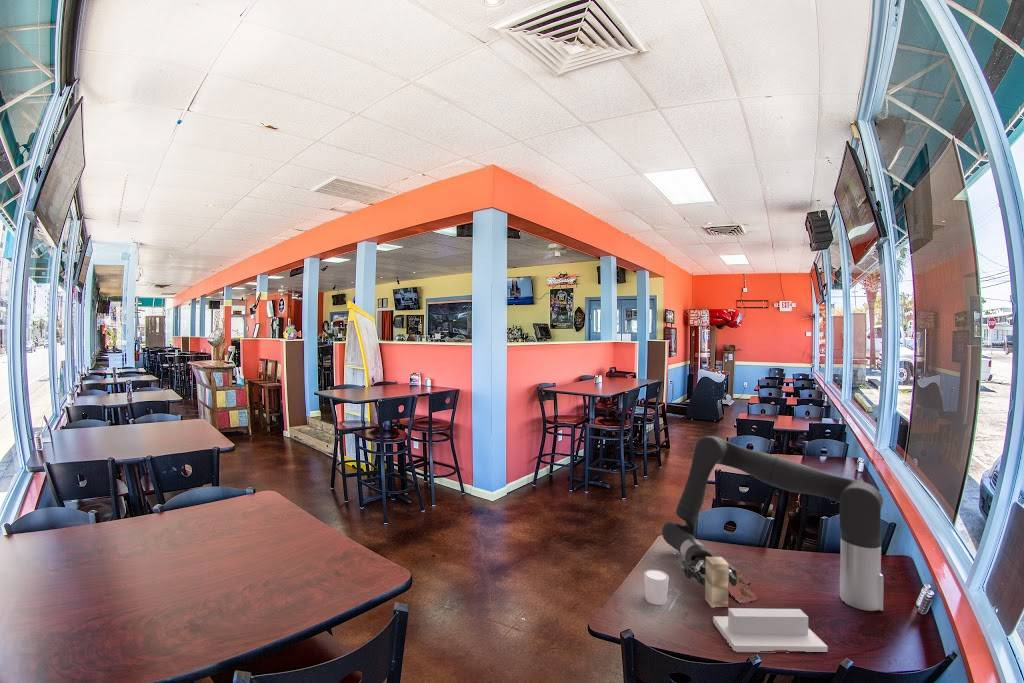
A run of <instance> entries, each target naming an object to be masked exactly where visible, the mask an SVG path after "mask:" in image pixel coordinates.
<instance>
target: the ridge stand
mask: <svg viewBox="0 0 1024 683" xmlns="http://www.w3.org/2000/svg"><path fill="white" fill-rule="evenodd" d="M727 609H728V612H727V613H728V615H727V616H725V615H724V616H716V615H715V616H713V617H712V623H713V625H715V627H716V628H717V630H718V631H719V632H720V634H721V635H722V637H723V638H724V640H725V639H726V640H727V641H726V640H725V641H726V642H727V644H728V643H729V644H728V645H729V647H730V646H731V647H732V648H731V647H730V648H731V650H732V651H733V650H734V651H736V652H735V653H761V652H760V651H774V650H788V651H805V652H829V651H828V647H829V646H828V645H827V644H826V643H825V642H824V641H823V640H822V639H821V638H820V637H818V636H817V634H816V633H815V632H813V631H812V630H811V628H809V616H808V615H807V614H806V613H805V612H804V611H803V610H802V609H801V608H740V607H739V608H738V607H736V608H735V607H733V608H729V607H728V608H727ZM734 651H733V652H734Z"/></svg>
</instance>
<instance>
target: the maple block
mask: <svg viewBox="0 0 1024 683" xmlns="http://www.w3.org/2000/svg"><path fill="white" fill-rule="evenodd" d="M726 561H727V560H725V558H724V557H722V556H713V557H706V575H704V578H705V586H704V587H705V589H704V592H705V593H704V600H705V601H706V602H707V603H708V605H709V606H710V608H712V609H713V608H714V609H716V608H715V607H728V608H729V594H728V583H729V564H728V563H727V562H728V561H727V562H726Z"/></svg>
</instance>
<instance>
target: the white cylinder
mask: <svg viewBox="0 0 1024 683" xmlns="http://www.w3.org/2000/svg"><path fill="white" fill-rule="evenodd" d="M643 579H644V592H645V594H644V595H645V600H646V601H647V602H648V603H649V604H652V605H656V606H657V605H658V606H661V605H665V604H666V603H667V598H668V592H669V590H668V589H669V580H670V576H669V575H668V574H667V573H666V572H664V571H662V570H659V569H647V570H645V571H644V572H643Z"/></svg>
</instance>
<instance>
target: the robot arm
mask: <svg viewBox="0 0 1024 683" xmlns="http://www.w3.org/2000/svg"><path fill="white" fill-rule="evenodd" d="M692 456H693V457H692V461H691V465H690V470H689V474H688V476H687V480H686V483H685V486H684V488H683V492H682V494H681V496H680V498H679V501H678V504H677V506H676V509H675V514H676V516H678V518H679V519H682V520H683V521H684V522H685V525H683V524H681V523H678V522H675V521H668V522H665V523H664V524H663V525H662V529H661V534H662V538H663V539H664V541H665V543H666V544H668V546H670V547H672V548H673V549H675V550H676V551H677V552H678V553H679V554H680V556H682V558H683V560H682V561H681V571H682V572H683V574H684V575H685V577H686V578H687V579H691V578H692V579H694V580H696V582H697V583H698V584H700V585H701V586H703V587H705V575H706V557H714V556H713V553H711V552H710V551H709V550H708V549H707V547H705V546H704V544H703V543H701V542H700V541H699V540H698V539H697V538H696V527H697V519H698V517H699V514H700V511H701V509H702V506H703V503H704V501H705V495H706V490H707V484H708V481H709V478H710V475H711V474H712V471H713V469H714V468H715V466H716V465H720V466H726V467H729V468H734V469H737V470H740V471H742V472H744V473H746V474H748V475H749V476H751V477H753V478H754V479H756V480H759V481H761V482H762V483H765V484H767V485H770V486H773V487H775V488H778V489H781V490H785V491H787V492H790V493H791V492H792V493H797V494H803V495H804V494H805V495H812V496H816V497H817V496H818V497H822V498H825V499H828V500H831V501H832V502H833V501H834V502H836V503H838V504H839V530H840V562H839V567H840V568H839V570H840V571H839V574H840V575H839V598H841V599H840V600H841V601H842V602H843V601H844V602H845V603H844V602H843V603H844V604H846V605H848V606H851V607H853V608H854V609H857V610H858V609H859V610H862V611H867V612H868V611H869V612H875V611H884V574H882V572H881V568H882V566H881V565H882V562H881V561H882V534H881V515H882V514H881V512H882V507H883V505H884V499H883V495H882V493H881V492H880V491H879V490H878V489H877V488H876V487H875V486H873V485H872V484H870V483H868V482H864V481H860V480H856V479H852V478H848V477H843V476H838V475H833V474H830V473H827V472H824V471H821V470H819V469H816V468H814V467H811V466H808V465H805V464H801V463H799V462H796V461H793V460H791V459H786V458H784V457H780V456H777V455H773V454H770V453H766V452H762V451H757V450H753V449H749V448H748V449H747V448H745V447H742V446H740V445H737V444H736V443H732V442H730V441H727V440H726V439H724V438H721V437H719V436H715V435H714V436H712V435H709V436H708V435H707V436H702V437H700V438H699V439H698V440H697V442H696V443H695V447H694V451H693V455H692ZM725 561H726V562H727V563H728V564H729V582H730V583H731V585H732V586H736V584H737V570H738V569H737V568H735V566H733V564H731V563H730V562H729V561H728V560H725Z"/></svg>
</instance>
